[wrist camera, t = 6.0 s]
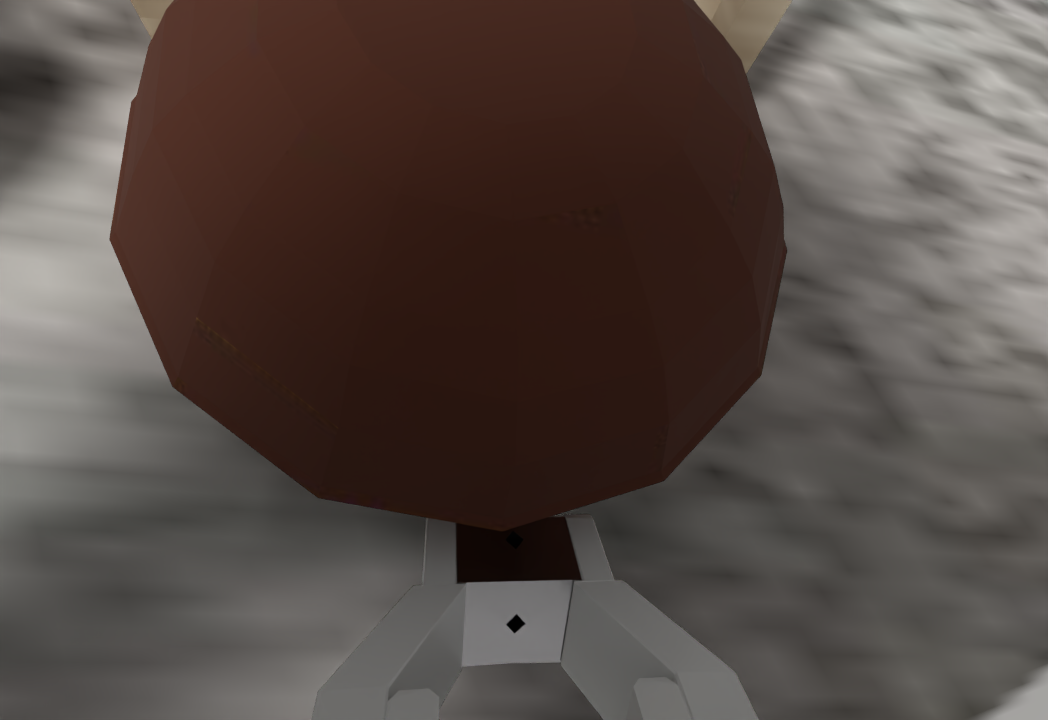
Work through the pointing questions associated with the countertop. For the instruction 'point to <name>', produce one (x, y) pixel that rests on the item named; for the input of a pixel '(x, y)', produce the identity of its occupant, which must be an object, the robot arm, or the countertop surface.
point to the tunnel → (730, 3)
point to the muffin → (453, 242)
